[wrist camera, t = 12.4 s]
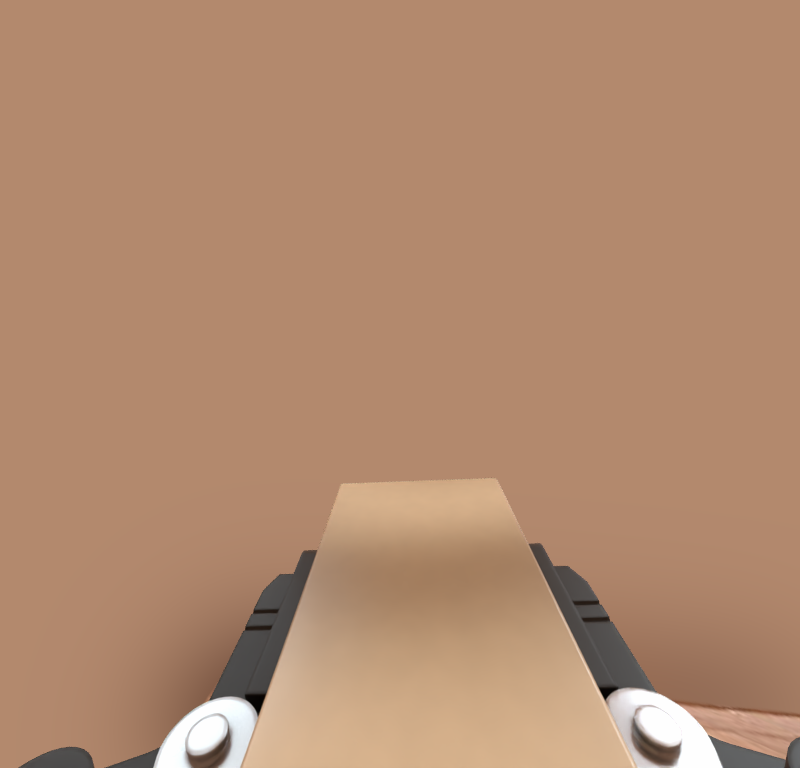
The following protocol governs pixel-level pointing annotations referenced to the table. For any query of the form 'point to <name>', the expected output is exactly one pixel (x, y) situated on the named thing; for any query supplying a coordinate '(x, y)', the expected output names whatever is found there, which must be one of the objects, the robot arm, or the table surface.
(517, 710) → the wooden block with panel
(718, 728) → the table surface
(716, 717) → the table surface
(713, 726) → the table surface
